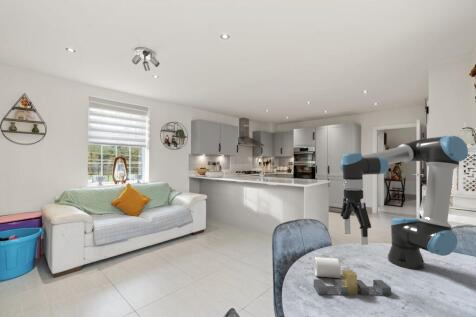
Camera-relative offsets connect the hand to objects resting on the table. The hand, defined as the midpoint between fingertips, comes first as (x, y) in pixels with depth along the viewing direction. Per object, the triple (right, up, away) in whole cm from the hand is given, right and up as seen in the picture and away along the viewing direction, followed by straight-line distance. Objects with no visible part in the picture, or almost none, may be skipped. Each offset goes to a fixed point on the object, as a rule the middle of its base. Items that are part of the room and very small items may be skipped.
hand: (355, 238), depth 97 cm
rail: (-5, -19, -6) cm, 20 cm away
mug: (-9, -20, +8) cm, 23 cm away
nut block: (-5, -19, -6) cm, 20 cm away
